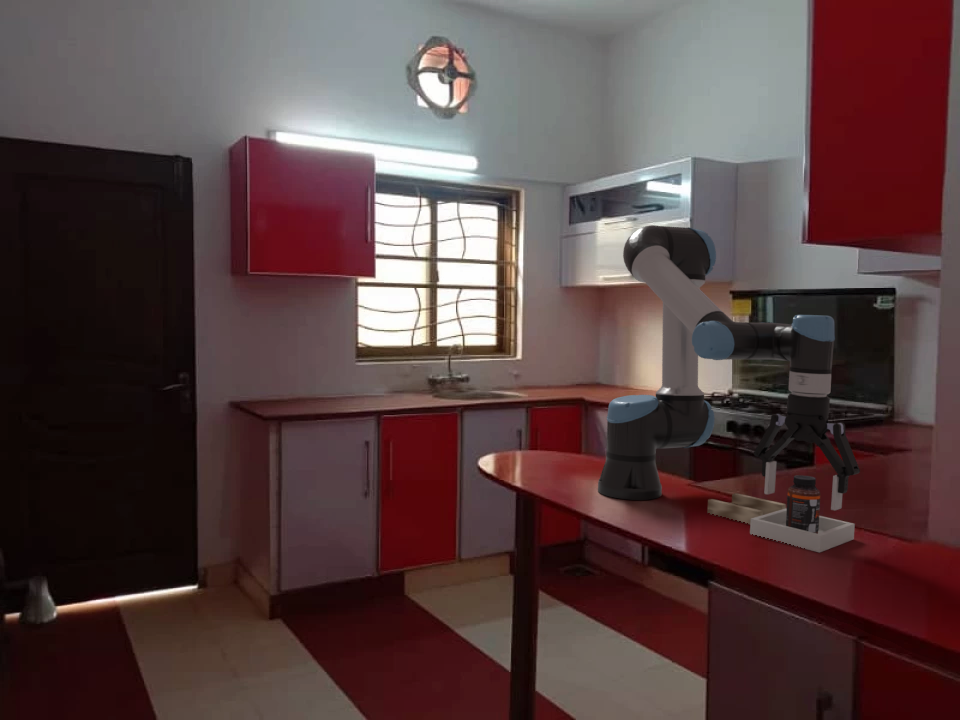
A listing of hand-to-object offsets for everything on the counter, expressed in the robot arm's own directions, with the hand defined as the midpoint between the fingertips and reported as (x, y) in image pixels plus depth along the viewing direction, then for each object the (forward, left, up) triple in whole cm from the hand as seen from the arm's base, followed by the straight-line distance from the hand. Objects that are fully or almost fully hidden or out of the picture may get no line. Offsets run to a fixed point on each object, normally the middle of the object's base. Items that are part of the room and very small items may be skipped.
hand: (801, 501), depth 147 cm
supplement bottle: (0, 0, -7) cm, 7 cm away
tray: (0, 0, -7) cm, 7 cm away
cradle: (-15, +5, -7) cm, 17 cm away
